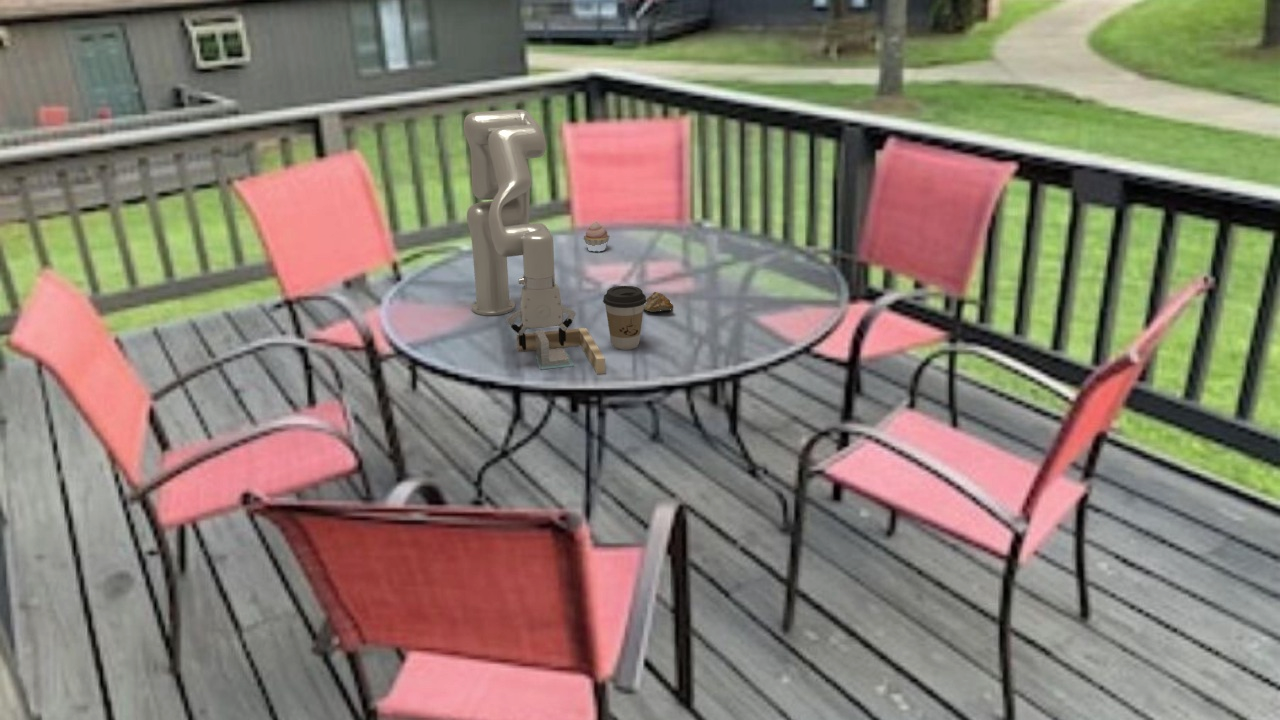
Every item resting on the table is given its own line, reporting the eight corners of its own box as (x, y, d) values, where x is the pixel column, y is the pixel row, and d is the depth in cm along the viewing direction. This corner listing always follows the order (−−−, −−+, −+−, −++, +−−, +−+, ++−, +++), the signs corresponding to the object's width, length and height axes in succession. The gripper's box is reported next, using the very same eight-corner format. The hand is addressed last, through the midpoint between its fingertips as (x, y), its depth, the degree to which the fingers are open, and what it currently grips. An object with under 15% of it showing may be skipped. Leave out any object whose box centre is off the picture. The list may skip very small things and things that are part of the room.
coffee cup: (613, 355, 257) (612, 300, 251) (597, 340, 266) (596, 287, 260) (653, 348, 261) (653, 294, 255) (636, 334, 270) (636, 282, 265)
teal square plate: (534, 356, 256) (534, 355, 256) (567, 353, 258) (567, 352, 258) (540, 369, 248) (540, 369, 248) (574, 366, 250) (574, 365, 250)
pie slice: (645, 302, 280) (636, 291, 294) (646, 317, 281) (637, 305, 296) (678, 299, 282) (668, 289, 296) (679, 314, 283) (668, 303, 297)
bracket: (536, 356, 256) (534, 330, 253) (562, 353, 258) (561, 327, 255) (542, 367, 249) (540, 341, 246) (569, 364, 251) (568, 338, 248)
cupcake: (613, 247, 348) (613, 219, 344) (605, 254, 340) (604, 226, 336) (588, 245, 350) (587, 217, 347) (579, 252, 342) (578, 224, 338)
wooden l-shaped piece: (517, 348, 261) (516, 334, 260) (586, 341, 266) (585, 327, 264) (531, 381, 242) (530, 366, 240) (605, 373, 246) (604, 358, 245)
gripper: (506, 289, 239) (510, 355, 245) (577, 283, 243) (579, 347, 250) (502, 280, 246) (506, 344, 252) (571, 274, 250) (573, 337, 256)
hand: (542, 346), depth 251 cm, fingers open, 9 cm apart
